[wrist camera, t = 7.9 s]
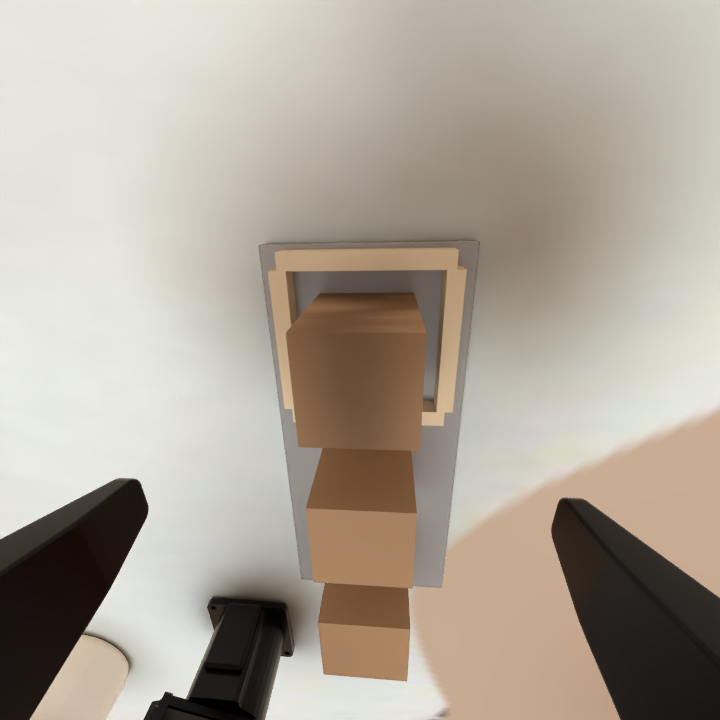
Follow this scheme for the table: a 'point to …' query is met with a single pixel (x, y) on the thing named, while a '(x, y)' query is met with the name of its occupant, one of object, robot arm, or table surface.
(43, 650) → the robot arm
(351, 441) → the walnut block
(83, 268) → the table surface
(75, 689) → the bottle
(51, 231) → the table surface
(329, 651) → the holder
